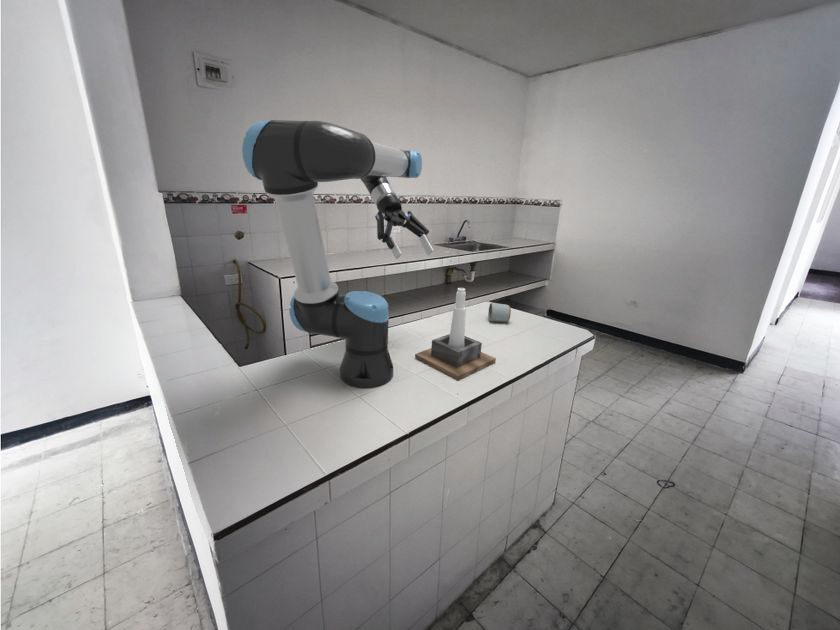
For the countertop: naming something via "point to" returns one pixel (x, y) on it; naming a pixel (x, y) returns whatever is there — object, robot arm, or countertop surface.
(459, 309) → the cosmetic bottle
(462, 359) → the bottle holder
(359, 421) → the countertop surface
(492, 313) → the ceramic mug
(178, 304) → the countertop surface
